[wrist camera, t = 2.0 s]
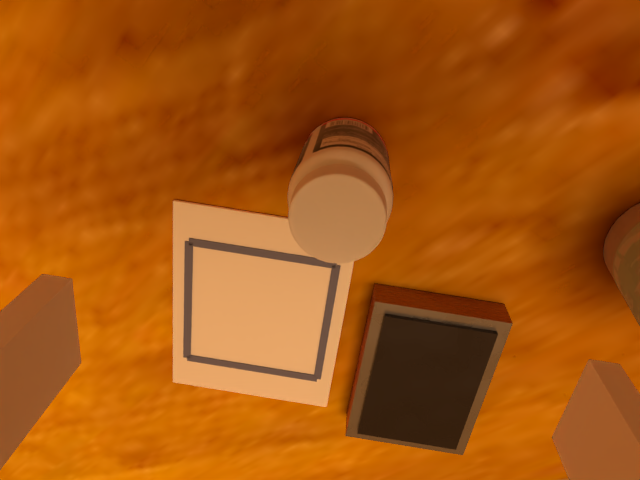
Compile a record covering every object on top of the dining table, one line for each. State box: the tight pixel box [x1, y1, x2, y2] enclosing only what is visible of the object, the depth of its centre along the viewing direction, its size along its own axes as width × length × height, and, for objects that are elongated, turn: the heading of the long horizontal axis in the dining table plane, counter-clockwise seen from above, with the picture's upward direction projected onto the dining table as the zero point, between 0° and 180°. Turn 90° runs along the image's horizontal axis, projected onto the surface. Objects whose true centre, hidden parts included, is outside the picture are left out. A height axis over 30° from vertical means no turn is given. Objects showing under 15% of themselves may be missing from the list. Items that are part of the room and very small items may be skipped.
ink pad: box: [346, 284, 513, 455], centre depth 33 cm, size 11×8×2 cm
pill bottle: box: [288, 118, 393, 264], centre depth 24 cm, size 5×5×8 cm
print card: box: [173, 200, 354, 407], centre depth 33 cm, size 14×11×1 cm
